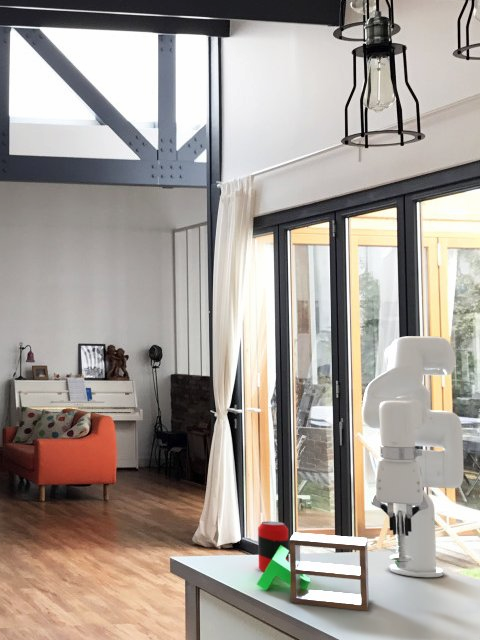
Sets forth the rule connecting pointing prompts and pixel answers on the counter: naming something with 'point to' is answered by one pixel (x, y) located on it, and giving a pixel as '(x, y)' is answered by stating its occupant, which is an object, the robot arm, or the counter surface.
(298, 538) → the shelf
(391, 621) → the counter surface
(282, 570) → the bracket
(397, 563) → the screw
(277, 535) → the soda can
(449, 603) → the counter surface
